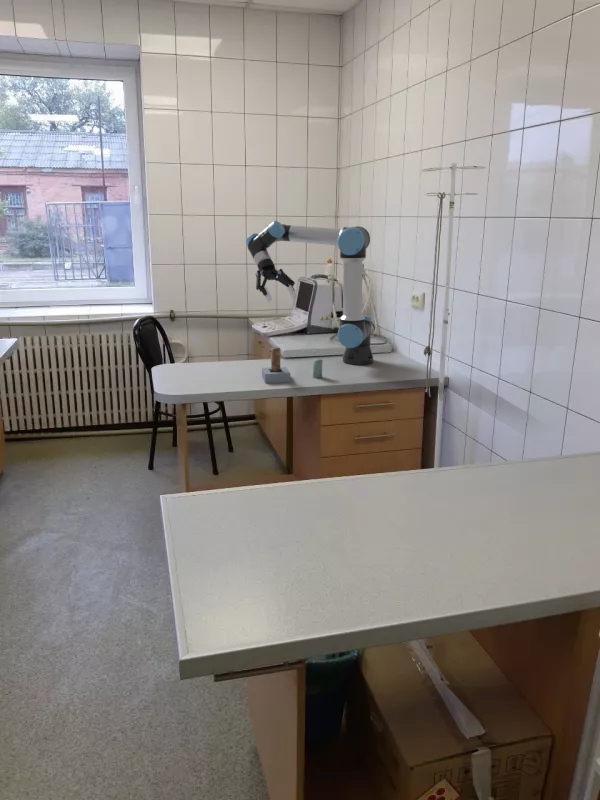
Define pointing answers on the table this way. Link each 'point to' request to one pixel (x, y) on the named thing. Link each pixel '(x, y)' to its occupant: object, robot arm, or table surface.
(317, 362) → the green pin short
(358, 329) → the robot arm
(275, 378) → the socket block
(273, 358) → the walnut pin long
